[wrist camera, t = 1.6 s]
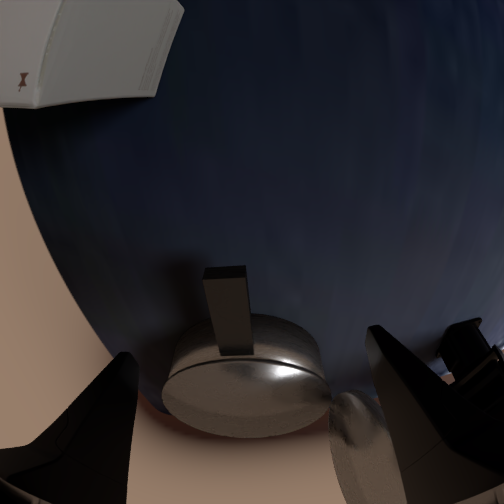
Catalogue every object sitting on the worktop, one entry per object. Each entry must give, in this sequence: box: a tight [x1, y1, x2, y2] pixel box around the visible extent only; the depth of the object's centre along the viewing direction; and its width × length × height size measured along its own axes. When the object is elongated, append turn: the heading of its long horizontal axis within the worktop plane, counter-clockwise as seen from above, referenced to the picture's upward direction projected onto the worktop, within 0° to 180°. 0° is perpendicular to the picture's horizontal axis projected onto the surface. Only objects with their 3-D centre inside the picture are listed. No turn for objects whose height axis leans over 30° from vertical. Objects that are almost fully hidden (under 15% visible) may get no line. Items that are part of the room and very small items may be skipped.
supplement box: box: [0, 0, 184, 109], centre depth 9 cm, size 7×7×13 cm
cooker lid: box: [328, 390, 407, 504], centre depth 18 cm, size 18×18×1 cm
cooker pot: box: [162, 265, 332, 438], centre depth 26 cm, size 18×25×6 cm
